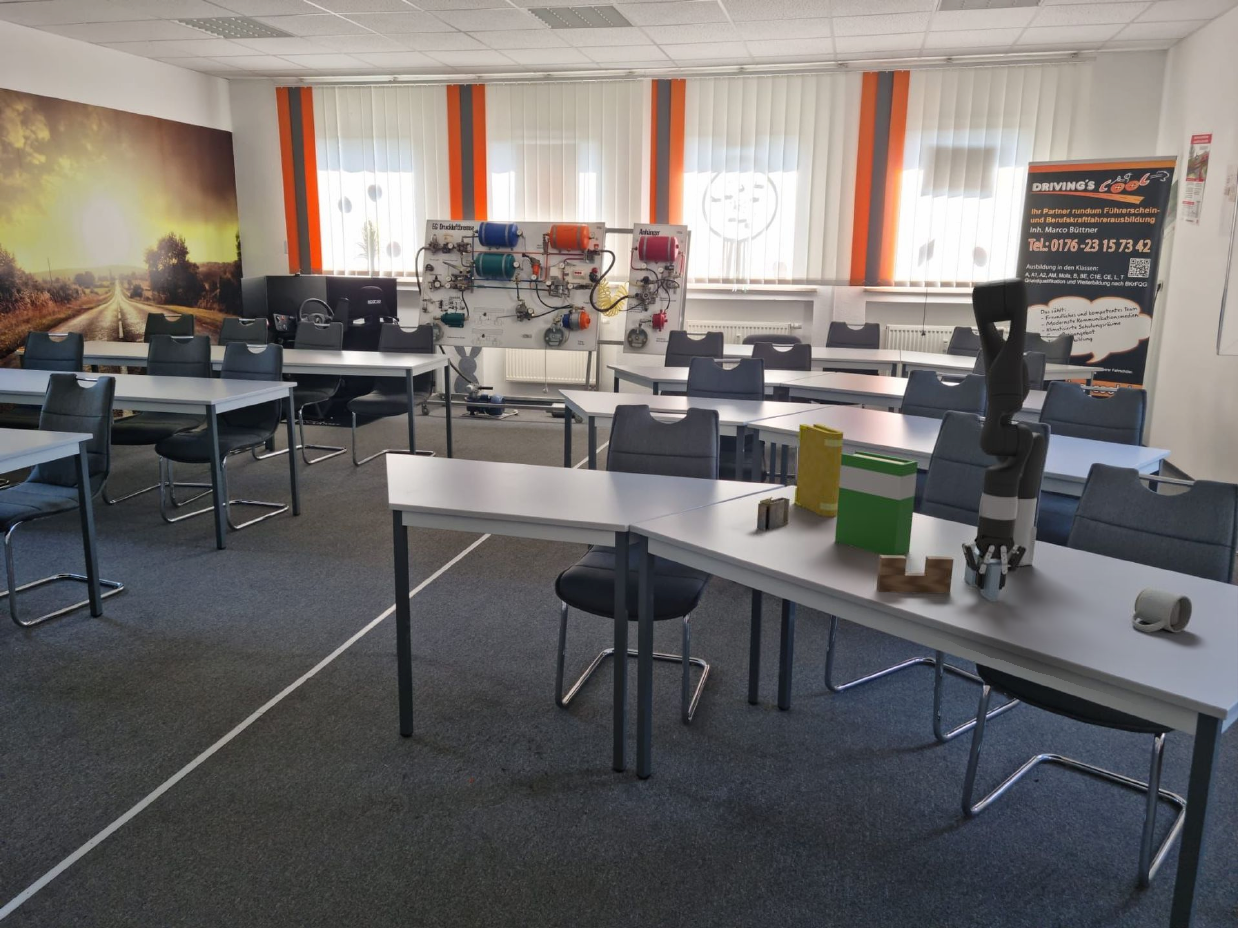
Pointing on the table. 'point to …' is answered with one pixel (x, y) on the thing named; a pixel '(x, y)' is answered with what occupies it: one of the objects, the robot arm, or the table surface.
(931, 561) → the walnut plate
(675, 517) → the table surface
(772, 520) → the weathered grey slotted block
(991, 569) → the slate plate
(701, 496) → the table surface
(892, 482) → the hardback book
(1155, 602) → the ceramic mug
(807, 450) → the book
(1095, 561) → the table surface
